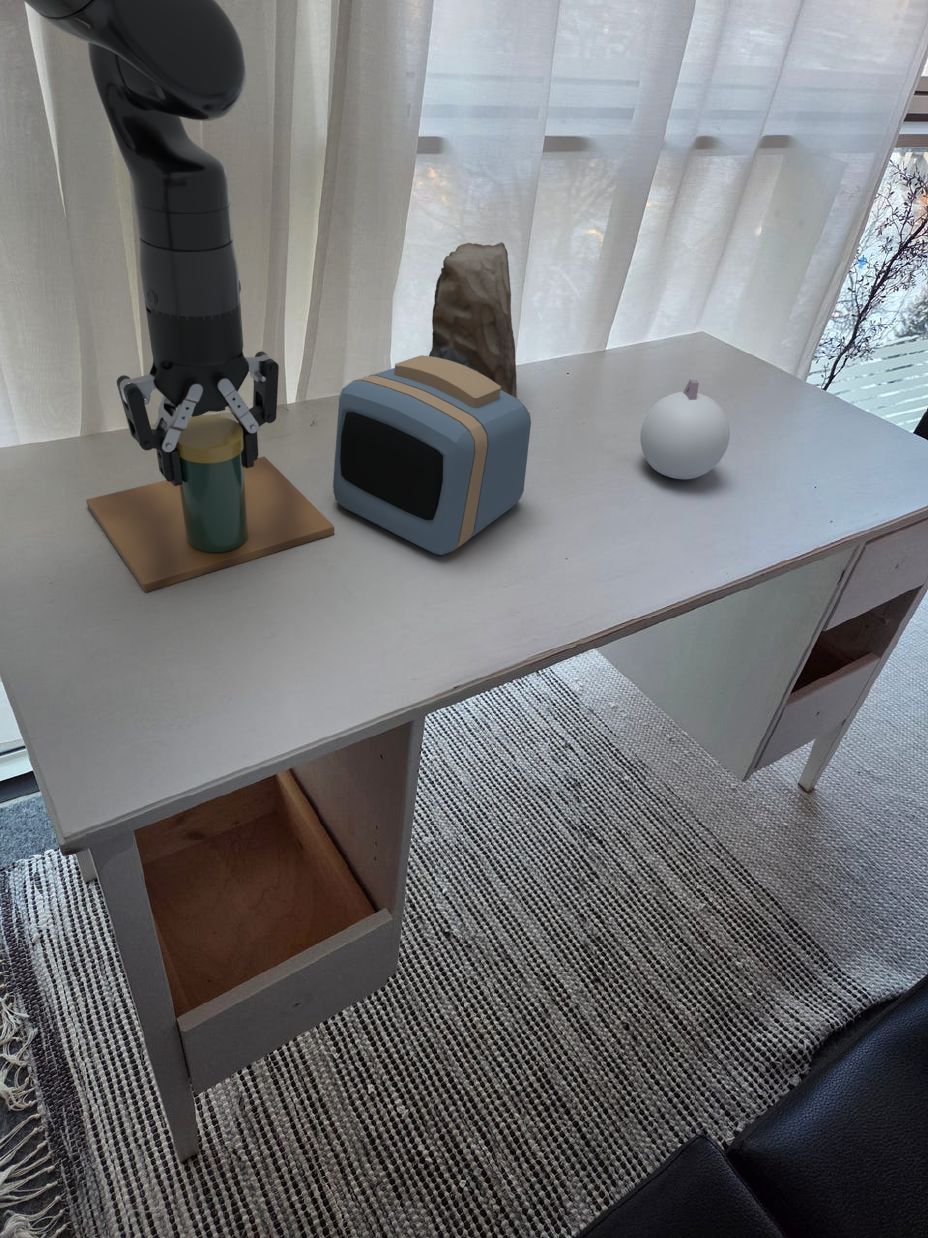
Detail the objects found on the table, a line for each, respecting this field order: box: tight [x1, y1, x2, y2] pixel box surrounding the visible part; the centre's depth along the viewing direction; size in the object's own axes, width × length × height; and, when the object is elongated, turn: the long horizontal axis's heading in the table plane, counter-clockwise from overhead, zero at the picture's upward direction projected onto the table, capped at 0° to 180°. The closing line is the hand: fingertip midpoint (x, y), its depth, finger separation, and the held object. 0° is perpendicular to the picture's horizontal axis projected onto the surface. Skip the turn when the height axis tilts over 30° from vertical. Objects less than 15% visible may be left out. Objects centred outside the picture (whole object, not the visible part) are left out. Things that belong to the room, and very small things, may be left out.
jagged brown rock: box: [428, 241, 518, 399], centre depth 107 cm, size 13×13×20 cm
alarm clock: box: [332, 354, 532, 556], centre depth 89 cm, size 16×16×16 cm
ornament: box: [639, 379, 731, 480], centre depth 102 cm, size 10×10×12 cm
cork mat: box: [85, 456, 335, 593], centre depth 87 cm, size 20×16×1 cm
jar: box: [176, 414, 248, 552], centre depth 80 cm, size 6×6×12 cm
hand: (210, 472), depth 79 cm, fingers closed on jar, 6 cm apart
